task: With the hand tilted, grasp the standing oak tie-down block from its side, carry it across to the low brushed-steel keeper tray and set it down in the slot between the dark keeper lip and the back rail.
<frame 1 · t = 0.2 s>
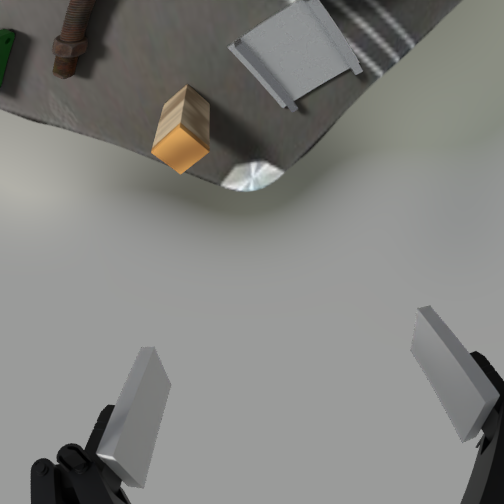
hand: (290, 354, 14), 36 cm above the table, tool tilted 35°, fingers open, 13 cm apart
keeper bracket: (291, 53, 33), on the table
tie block: (186, 103, 38), on the table
bolt: (82, 19, 25), on the table
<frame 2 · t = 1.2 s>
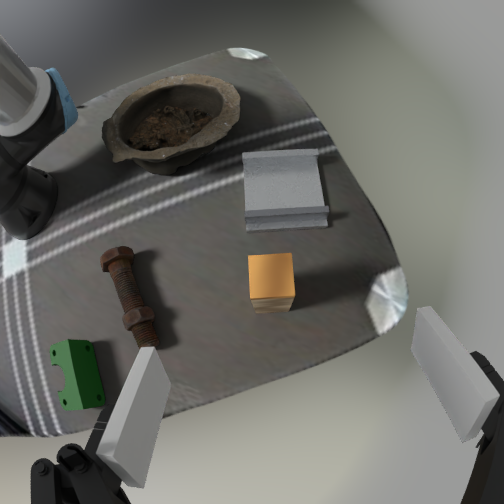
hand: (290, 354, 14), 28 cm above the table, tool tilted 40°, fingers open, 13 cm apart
keeper bracket: (283, 196, 48), on the table
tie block: (271, 296, 43), on the table
bolt: (137, 302, 44), on the table
green notched mounting bracket: (85, 375, 40), on the table
stone bowl: (179, 135, 54), on the table
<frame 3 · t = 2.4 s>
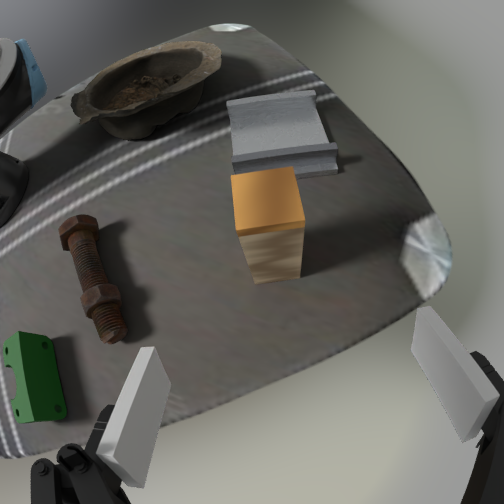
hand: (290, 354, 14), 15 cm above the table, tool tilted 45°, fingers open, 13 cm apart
keeper bracket: (280, 145, 38), on the table
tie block: (274, 260, 32), on the table
bolt: (103, 285, 33), on the table
green notched mounting bracket: (45, 381, 29), on the table
stone bowl: (157, 102, 45), on the table
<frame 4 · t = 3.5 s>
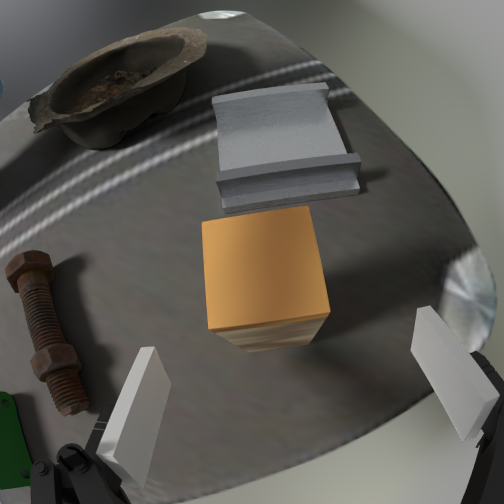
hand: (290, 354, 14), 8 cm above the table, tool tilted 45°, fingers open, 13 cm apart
keeper bracket: (282, 154, 29), on the table
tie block: (274, 319, 23), on the table
bolt: (61, 338, 24), on the table
green notched mounting bracket: (12, 439, 20), on the table
stone bowl: (132, 101, 36), on the table
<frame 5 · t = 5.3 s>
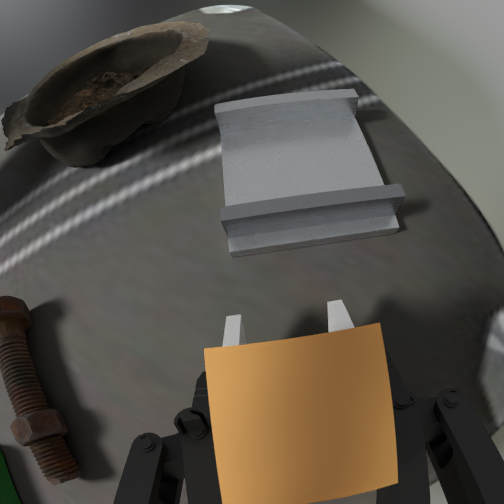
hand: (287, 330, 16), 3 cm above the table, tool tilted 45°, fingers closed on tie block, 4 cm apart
keeper bracket: (302, 178, 23), on the table
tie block: (294, 395, 17), on the table, touching gripper
bolt: (44, 394, 19), on the table
green notched mounting bracket: (4, 487, 15), on the table
stone bowl: (121, 108, 31), on the table
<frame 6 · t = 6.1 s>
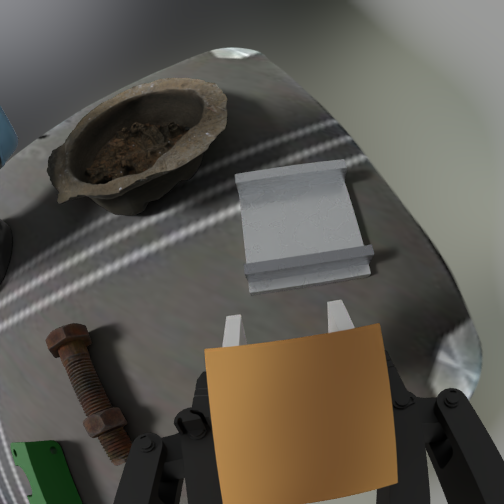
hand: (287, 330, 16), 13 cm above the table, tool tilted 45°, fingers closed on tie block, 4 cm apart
keeper bracket: (301, 234, 32), on the table
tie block: (294, 395, 17), point 10 cm above the table, touching gripper
bolt: (104, 397, 28), on the table
green notched mounting bracket: (58, 477, 24), on the table
stone bowl: (151, 159, 40), on the table
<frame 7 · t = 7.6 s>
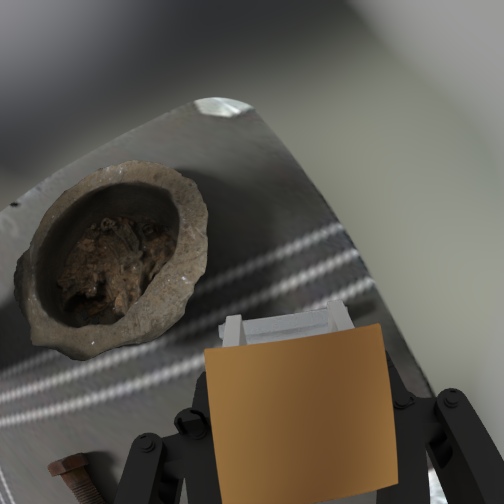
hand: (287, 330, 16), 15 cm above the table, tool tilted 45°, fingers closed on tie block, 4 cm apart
keeper bracket: (291, 386, 28), on the table
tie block: (294, 395, 17), point 12 cm above the table, touching gripper
stone bowl: (126, 267, 36), on the table
when the fingers open (6 cm above the table, at t = 9.4 s): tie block drops 1 cm, resting on keeper bracket.
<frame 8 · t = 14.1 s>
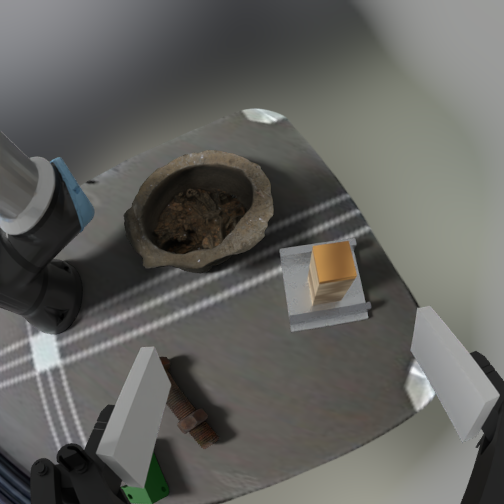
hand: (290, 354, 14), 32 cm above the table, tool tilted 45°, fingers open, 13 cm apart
keeper bracket: (323, 290, 47), on the table
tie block: (324, 289, 46), point 1 cm above the table, touching keeper bracket
bolt: (184, 404, 43), on the table
green notched mounting bracket: (144, 468, 38), on the table
stone bowl: (206, 222, 55), on the table
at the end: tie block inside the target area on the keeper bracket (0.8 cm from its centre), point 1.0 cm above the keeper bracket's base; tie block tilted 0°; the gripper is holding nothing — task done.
